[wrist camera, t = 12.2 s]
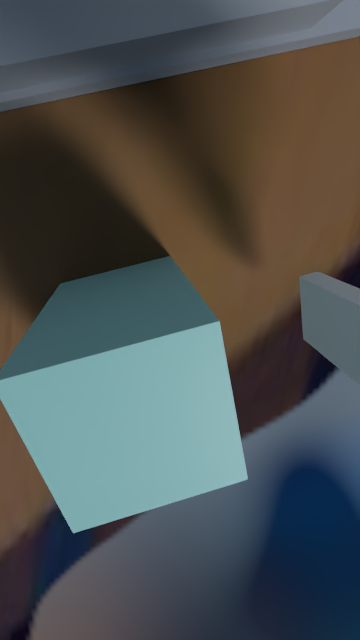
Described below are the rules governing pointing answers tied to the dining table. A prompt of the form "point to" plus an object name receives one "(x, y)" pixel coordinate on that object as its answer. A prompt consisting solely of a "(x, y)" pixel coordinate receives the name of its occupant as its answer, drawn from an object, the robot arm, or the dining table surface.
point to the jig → (149, 40)
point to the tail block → (125, 394)
